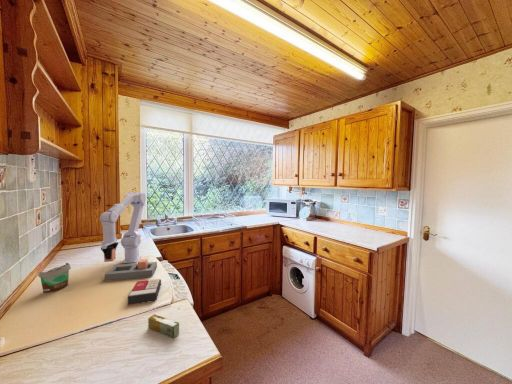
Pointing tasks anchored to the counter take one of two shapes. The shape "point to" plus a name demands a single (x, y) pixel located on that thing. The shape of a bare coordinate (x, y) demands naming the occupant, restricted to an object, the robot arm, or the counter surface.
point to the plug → (111, 256)
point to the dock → (131, 270)
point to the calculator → (144, 291)
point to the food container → (55, 278)
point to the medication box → (163, 326)
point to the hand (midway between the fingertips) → (110, 257)
